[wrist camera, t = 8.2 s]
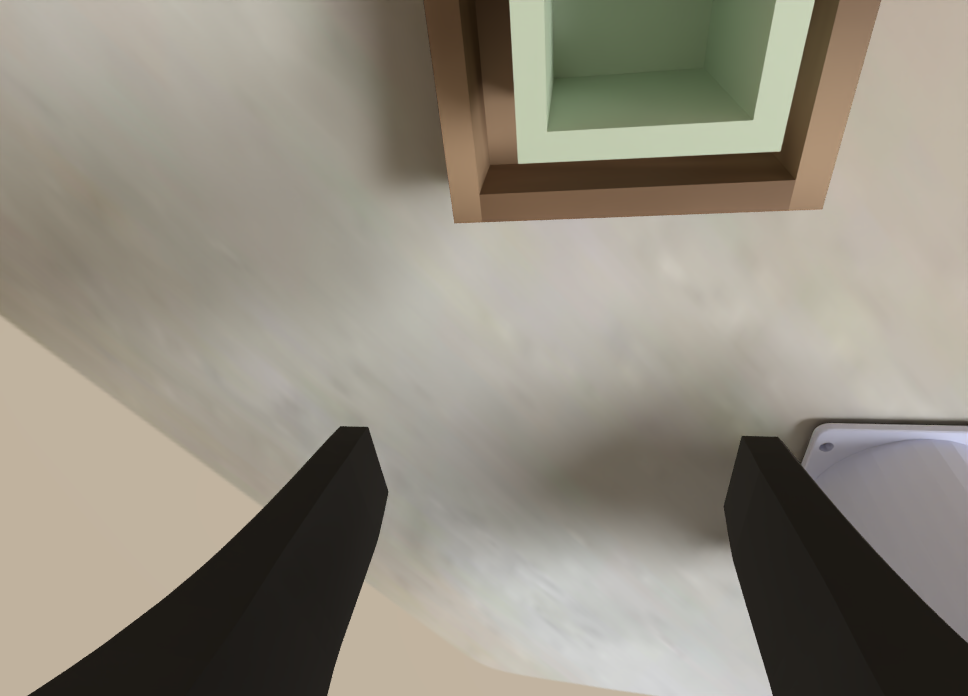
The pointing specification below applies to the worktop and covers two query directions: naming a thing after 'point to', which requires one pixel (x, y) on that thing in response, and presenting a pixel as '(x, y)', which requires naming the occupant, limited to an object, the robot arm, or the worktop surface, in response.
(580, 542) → the worktop surface
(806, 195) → the big crate
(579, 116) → the small crate
